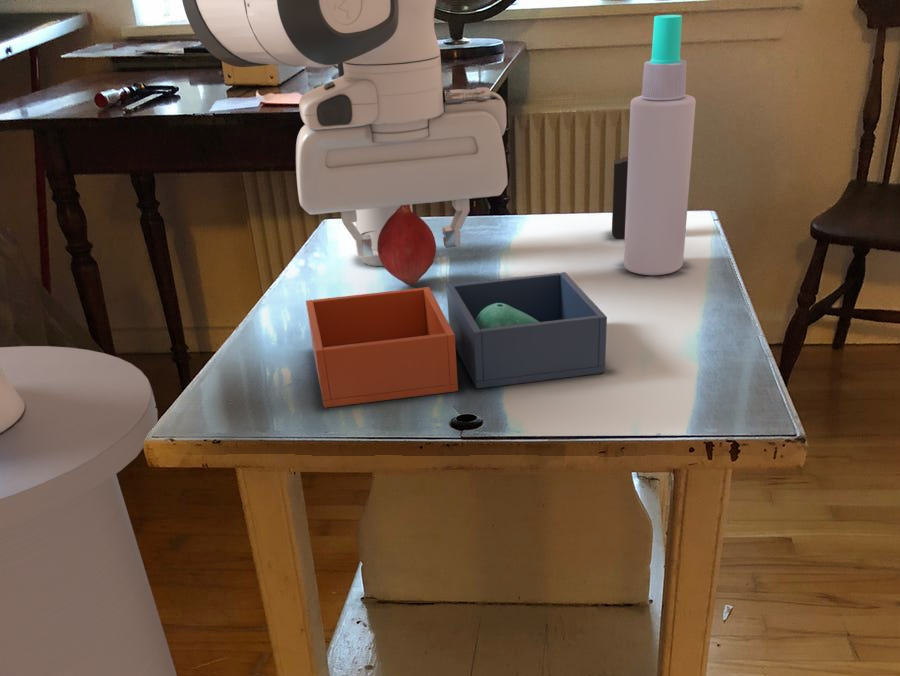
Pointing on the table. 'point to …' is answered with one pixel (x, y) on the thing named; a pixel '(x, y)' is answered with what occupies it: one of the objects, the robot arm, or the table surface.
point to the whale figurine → (502, 316)
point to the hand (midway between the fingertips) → (408, 251)
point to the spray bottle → (659, 158)
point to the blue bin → (528, 330)
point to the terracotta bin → (381, 347)
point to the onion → (406, 246)
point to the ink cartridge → (619, 197)
